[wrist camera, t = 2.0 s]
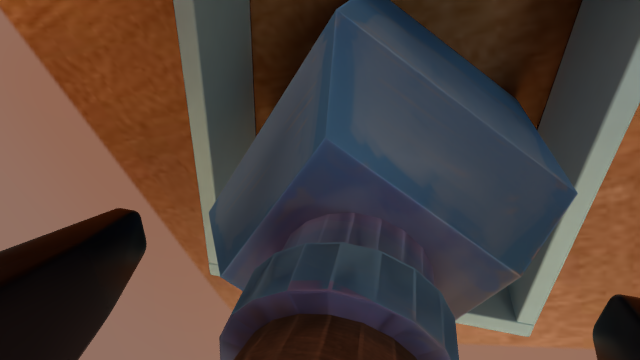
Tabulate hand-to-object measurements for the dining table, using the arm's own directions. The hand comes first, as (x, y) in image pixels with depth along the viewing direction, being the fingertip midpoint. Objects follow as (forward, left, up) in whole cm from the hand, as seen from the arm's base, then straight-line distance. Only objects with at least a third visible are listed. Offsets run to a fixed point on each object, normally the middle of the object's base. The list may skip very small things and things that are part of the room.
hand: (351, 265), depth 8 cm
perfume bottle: (0, 0, -9) cm, 9 cm away
